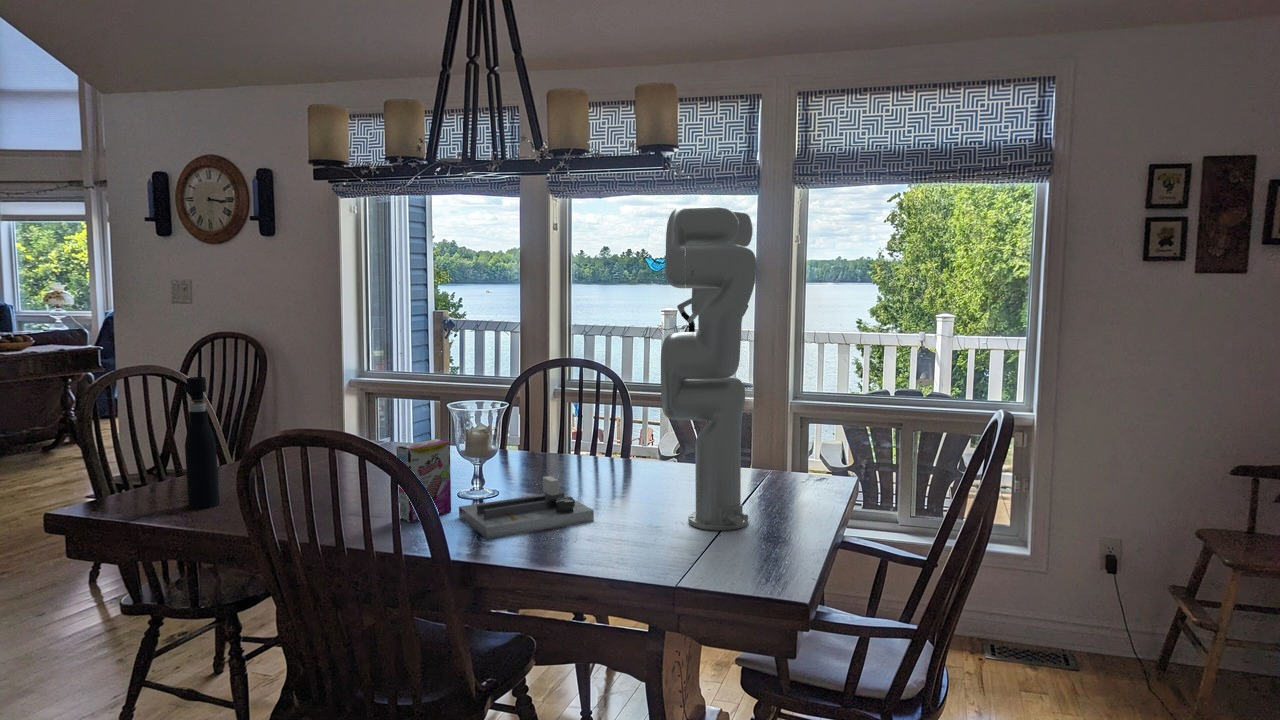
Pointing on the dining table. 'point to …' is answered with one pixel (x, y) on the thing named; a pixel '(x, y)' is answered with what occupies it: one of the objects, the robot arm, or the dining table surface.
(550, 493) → the block
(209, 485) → the black water bottle
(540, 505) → the console
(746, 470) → the dining table surface
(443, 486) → the candy bar box
